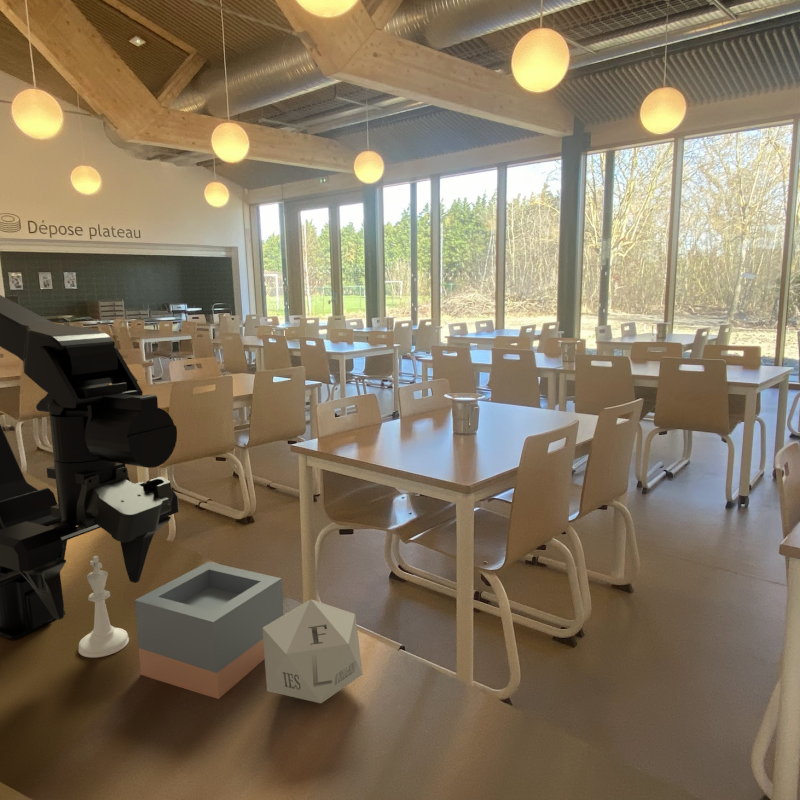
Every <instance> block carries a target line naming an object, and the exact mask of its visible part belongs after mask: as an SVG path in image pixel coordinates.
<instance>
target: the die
mask: <svg viewBox="0 0 800 800" xmlns="http://www.w3.org/2000/svg"><path fill="white" fill-rule="evenodd" d="M262 629H263V643H264V657H265V659H264V667H265V668H264V671H265V682H266V683H265V684H266V692H270V693H275V694H279V695H282V696H283V695H284V696H287V697H291V698H295V699H300V700H305V701H309V702H312V703H313V702H314V703H316V704H317V703H318V704H322V703H324V702H325V701H327V700H328V699H329V698H331V697H332V696H334V695H335V694H337V693H338V692H340V691H341V690H343V689H345V687H347V686H348V685H350V684H352V683H353V682H355V680H357V679H358V678H361V676H363V675H364V674H363V667H362V666H363V665H362V658H361V649H360V648H361V647H360V642H359V635H358V626H357V617H356V613H353V612H351V611H347V610H344V609H341V608H339V607H335V606H332V605H329V604H327V603H323V602H320V601H317V600H314V599H309V600H307V601H305V602H303V603H302V604H300V605H298V606H297V607H295V608H293V609H292V610H290V611H288V612H287V613H285V614H283V616H281V617H280V618H278V619H276V620H275V621H273V622H271V623H269V624H268V625H266V626H264V627H263V628H262Z"/></svg>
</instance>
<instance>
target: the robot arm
mask: <svg viewBox="0 0 800 800" xmlns="http://www.w3.org/2000/svg"><path fill="white" fill-rule="evenodd" d="M0 348H1V349H3V350H5V351H7V352H8V353H11V355H12V354H13V355H14V356H15V357H17V358H19V360H21V361H22V363H23V365H22V366H23V374H24V375H26V376H27V377H28V378H29V379H30V380H31V381H32V382H34V384H36V385H37V386H39V388H41V390H43V391H44V392H46V395H45V396H44V397H43V398H41V399H40V400H39V401H38V402H37V404H36V405H35V408H36V410H37V411H38V412H44V413H49V414H48V415H49V427H50V436H51V444H52V454H53V456H52V457H53V464H54V465H52V466H48V467H46V473H47V474H46V475H47V479H53V480H55V484H56V486H55V487H56V494H57V499H56V496H55V493H54V492H53V491H52V490H51V489H50V488H49V487H45V488H42V489H38V488H37V487H35V486H33V485H32V484H30V483H29V482H27V479H26V478H25V475H24V473H23V471H22V468H21V467H20V464H19V462H18V460H17V458H16V456H15V453H14V451H13V449H12V446H11V444H10V442H9V440H8V438H7V436H6V433H5V431H4V428H3V426H2V425H1V424H2V423H0V636H1V637H4V638H7V639H9V640H12V641H13V640H16V639H19V638H22V637H23V636H27V635H28V634H30V633H32V632H34V631H36V630H38V629H41V628H42V627H45V626H47V625H48V624H51V623H52V622H54V621H56V620H58V621H59V620H62V619H64V616H65V615H66V611H65V603H64V595H63V588H62V578H61V571H62V569H63V568H64V567H65V564H66V563H67V559H65V558H66V557H65V556H66V550H67V543H68V540H71V539H74V538H76V537H79V536H81V535H85V534H87V533H90V532H93V531H95V530H98V529H103V530H104V531H105V532H107V533H108V534H109V535H111V537H112V539H114V540H115V541H117V542H119V543H120V546H121V552H122V558H123V561H124V567H125V570H126V572H127V577H128V578H129V581H130V583H133V584H137V583H138V582H140V580H141V576H142V573H143V569H144V565H145V562H146V559H147V555H148V552H149V549H150V545H151V543H152V540H153V538H154V536H155V534H156V532H158V531H159V529H161V528H162V527H163V526H164V525H165V524H167V523H169V522H170V520H171V516H172V515H174V514H177V513H179V510H180V508H179V497H178V494H177V493H176V492H175V491H174V489H173V488H172V485H171V481H170V480H168V479H167V478H165V477H164V476H162V475H161V476H158V477H155V478H152V479H148V480H147V481H146V482H144V481H140V482H136V483H134V482H132V481H131V480H130V477H129V473H128V472H129V471H128V467H126V465H128V466H129V465H130V466H135V467H141V468H147V469H148V468H150V469H152V468H153V469H154V468H157V467H160V466H161V465H163V464H165V462H167V461H168V460H169V458H171V456H172V455H173V452H174V450H175V447H176V444H177V440H178V430H177V428H178V427H177V425H176V424H175V423H174V420H173V418H172V416H171V415H170V414H169V413H168V412H167V411H166V410H165V409H162V408H160V407H159V406H158V405H159V403H158V397H157V395H155V394H144V393H143V390H142V388H141V386H140V385H139V383H138V379H137V377H136V376H135V375H134V374H133V372H132V371H131V369H130V368H129V366H128V364H127V363H126V361H125V359H124V358H123V355H122V354H121V353H120V351H119V348H117V346H116V342H115V341H114V340H113V338H112V337H111V336H110V335H109V334H108V333H106V332H103V331H101V330H96V329H91V328H89V327H88V328H87V327H86V326H85V327H82V326H75V325H67V324H60V323H57V322H53V321H51V320H50V319H47V318H45V317H43V316H41V315H39V314H38V313H35V312H33V311H31V310H30V309H27V308H26V307H24V306H22V305H20V304H19V303H16V302H14V301H12V300H11V299H9V298H7V297H5V296H3V295H1V294H0Z"/></svg>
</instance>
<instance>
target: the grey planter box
mask: <svg viewBox="0 0 800 800" xmlns="http://www.w3.org/2000/svg"><path fill="white" fill-rule="evenodd" d="M282 581H283V579H282V577H277V576H273V575H268V574H264V573H260V572H256V571H250V570H246V569H242V568H237V567H234V566H233V567H232V566H229V565H224V564H220V563H215V562H211V561H207V562H205V563H203V564H201V565H199V566H197V567H196V568H194V569H192V570H190V571H188V572H186V573H184V574H182V575H180V576H179V577H176V578H174V579H172V580H171V581H169V582H167V583H164V584H163V585H160V586H159V587H157V588H155V589H153V590H151V591H150V592H147V593H146V594H144V595H142V596H140V597H138V598H136V599H135V600H134V608H135V609H134V610H135V619H136V631H137V643H138V644H137V645H138V653H139V655H138V656H139V667H140V668H139V669H140V675H141V676H144V677H147V678H150V679H153V680H155V681H159V682H162V683H166V684H169V685H172V686H176V687H179V688H180V689H181V688H183V689H185V690H189V691H192V692H194V693H198V694H200V695H205V696H208V697H211V698H214V699H218V700H219V699H220V698H221V697H223V696H224V695H225V694H226V693H227V692H229V691H230V690H231V689H232V688H234V686H235V685H237V684H238V683H239V682H240V681H241V680H242V679H243V678H244V677H246V676H247V675H248V674H249V673H250V672H251V671H253V670H254V669H255V668H256V667H257V666H258V665H259V664H261V663H263V661H265V657H264V643H263V629H262V628H263V627H264V626H266V625H268V624H269V623H271V622H273V621H275V620H276V619H278V618H280V617H281V616H283V615H284V601H283V600H284V599H283V584H282V583H283V582H282Z"/></svg>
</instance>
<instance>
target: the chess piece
mask: <svg viewBox="0 0 800 800" xmlns="http://www.w3.org/2000/svg"><path fill="white" fill-rule="evenodd" d="M89 563H90V566H91V567H93V571H91V572H89V573H88V574H87V575H86V580H87V582H88V583H89V585H90V588H91V590H92V591H93V592H92V593H90V594H88V599H87V600H88V601H90V602H92V603H93V602H94V619H93V620H94V621H93V623H94V624H93V629H92V630H91V631H90V632H89V633H88V634H86V635H84V637H82V638H81V639H80V641H79V643H78V654H80V655H81V656H82V657H85V658H92V659H93V658H103V657H106V656H110V655H112V654H116V653H118V652H119V651H121V650H123V649H124V648H125V647H126V646H127V645H128V644H129V643H130V642H129V641H130V637H129V634H128V631H126V630H125V629H123V628H121V627H115V626H114V625H111V621H110V617H109V613H108V610H107V605H106V600H107V599H108V598H110V597H111V592H110V591H109V590H106V589H105V587H106V583H107V579H108V575H109V573H108V572H107V570H101V569H102V568H103V564H102V563H101V562H100V559H99V556H98V555H93V556H92V560H90V561H89Z"/></svg>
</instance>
